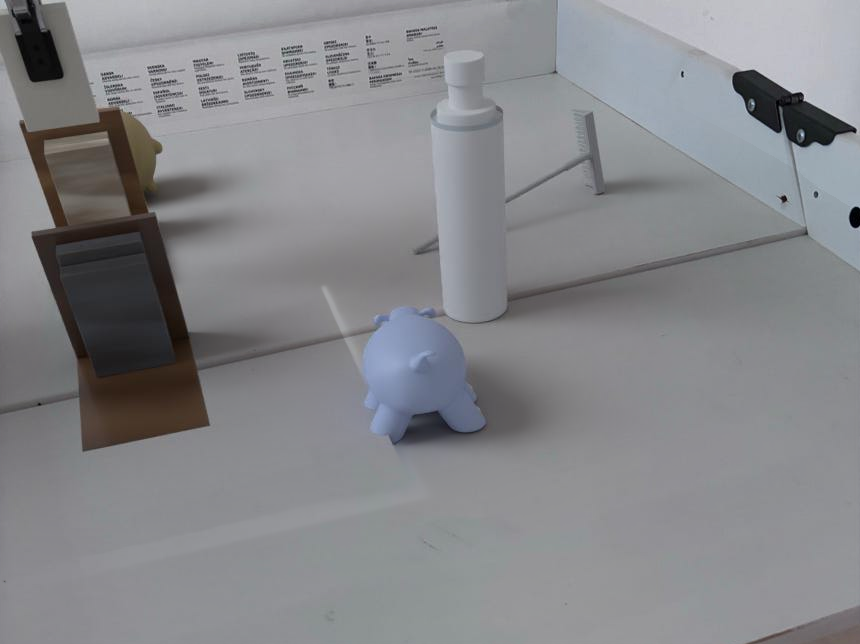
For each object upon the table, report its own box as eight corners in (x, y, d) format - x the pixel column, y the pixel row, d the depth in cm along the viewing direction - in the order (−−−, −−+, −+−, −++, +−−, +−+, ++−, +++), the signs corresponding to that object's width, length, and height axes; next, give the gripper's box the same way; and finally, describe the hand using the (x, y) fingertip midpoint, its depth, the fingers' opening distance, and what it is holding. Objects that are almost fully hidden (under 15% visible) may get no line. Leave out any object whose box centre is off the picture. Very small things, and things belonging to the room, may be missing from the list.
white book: (28, 125, 98) (-12, 10, 91) (99, 115, 99) (65, 1, 92) (27, 132, 97) (-13, 16, 89) (99, 122, 98) (65, 7, 91)
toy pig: (115, 215, 131) (39, 177, 123) (149, 129, 128) (74, 83, 120) (148, 235, 126) (70, 195, 117) (184, 144, 123) (107, 98, 114)
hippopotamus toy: (461, 358, 94) (455, 263, 88) (494, 444, 84) (491, 344, 77) (351, 374, 93) (336, 279, 86) (371, 463, 83) (357, 363, 76)
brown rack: (80, 363, 97) (31, 231, 87) (191, 342, 99) (155, 211, 89) (86, 462, 85) (30, 322, 75) (212, 436, 87) (173, 296, 77)
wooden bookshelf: (60, 237, 118) (19, 120, 109) (151, 222, 120) (119, 106, 111) (63, 301, 106) (16, 176, 97) (164, 284, 108) (129, 159, 99)
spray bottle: (464, 329, 98) (449, 51, 80) (432, 304, 102) (410, 33, 84) (519, 310, 101) (516, 35, 83) (485, 286, 105) (475, 19, 87)
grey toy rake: (411, 283, 116) (387, 206, 110) (586, 184, 123) (573, 106, 117) (427, 291, 114) (403, 213, 107) (605, 190, 121) (593, 110, 114)
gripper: (-71, -175, 86) (9, 58, 99) (-87, -152, 75) (5, 106, 89) (17, -183, 88) (84, 48, 101) (13, -161, 77) (89, 94, 90)
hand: (47, 73), depth 95 cm, fingers closed on white book, 2 cm apart
